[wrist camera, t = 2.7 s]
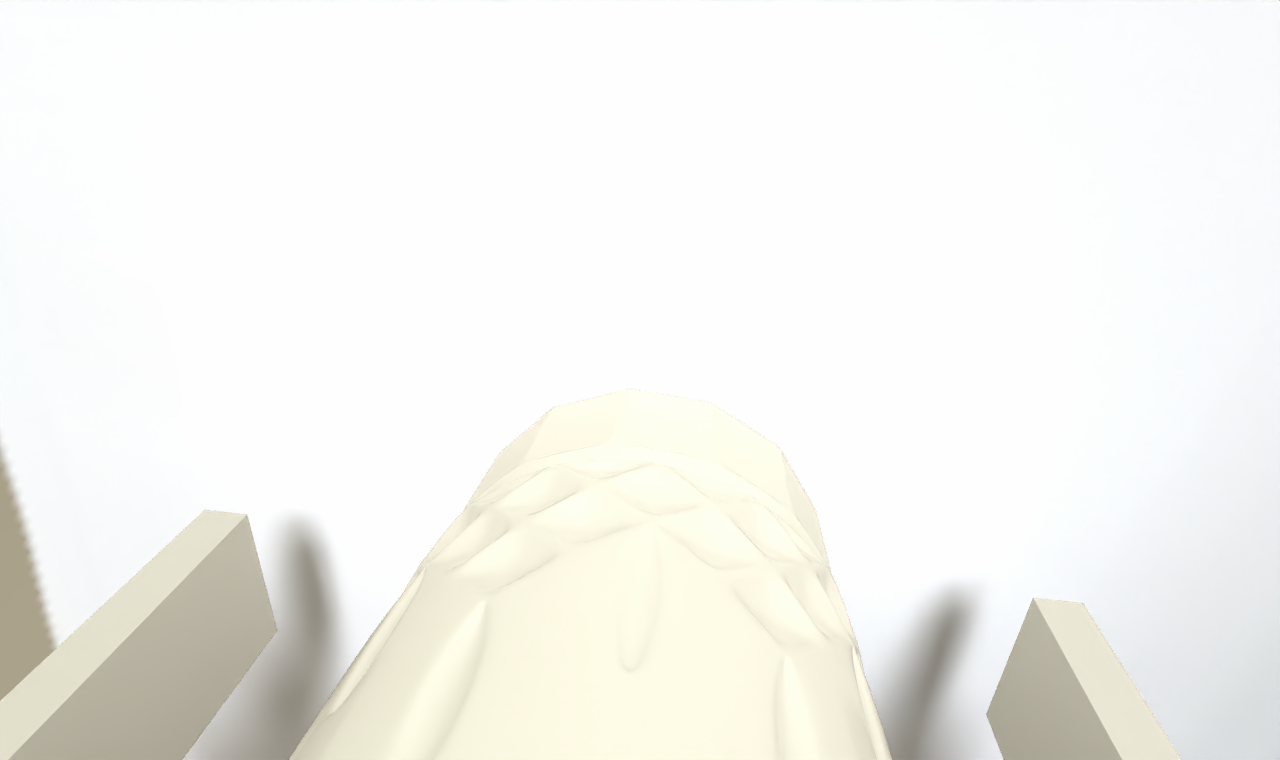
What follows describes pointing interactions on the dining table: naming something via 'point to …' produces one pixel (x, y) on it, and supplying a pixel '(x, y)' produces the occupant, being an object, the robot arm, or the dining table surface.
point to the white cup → (616, 608)
